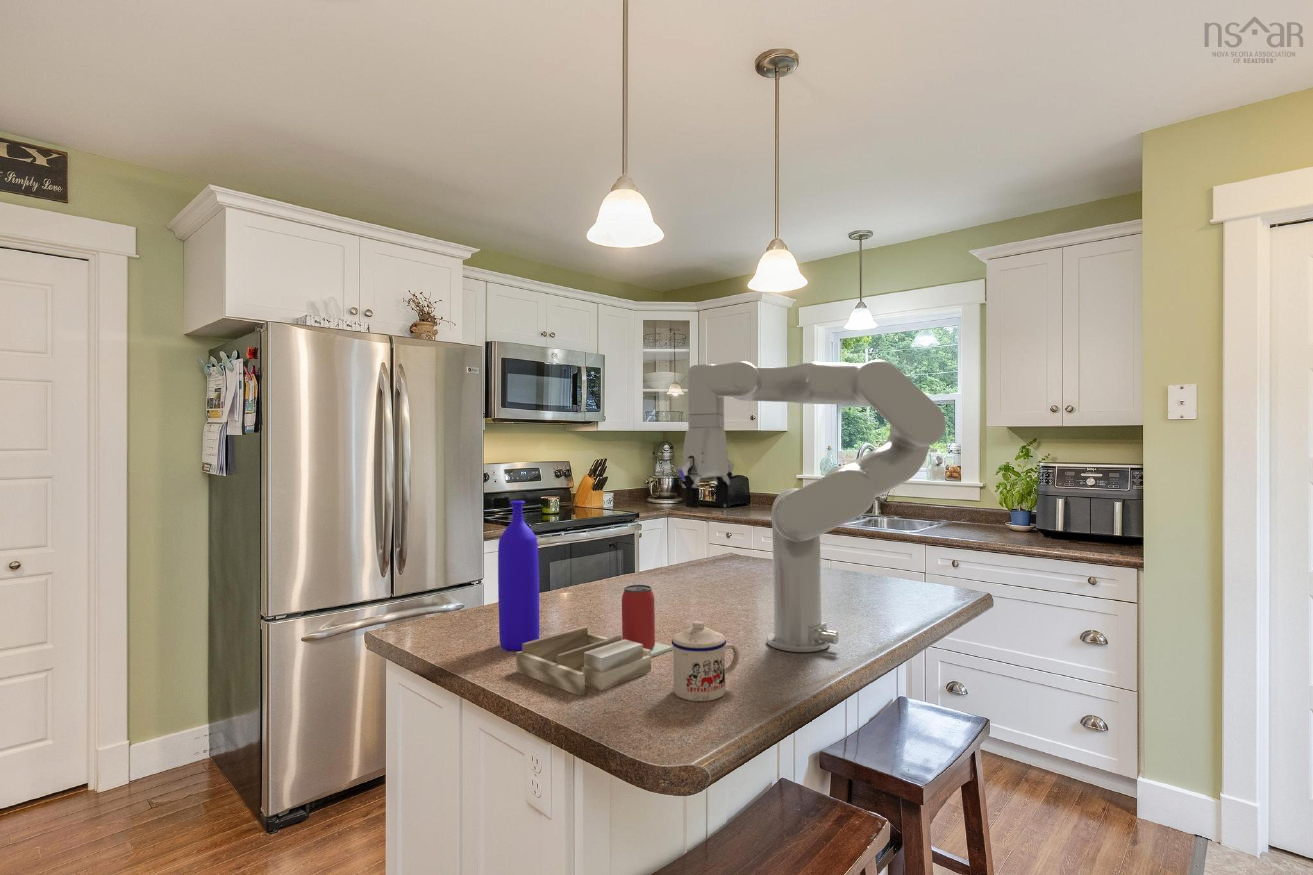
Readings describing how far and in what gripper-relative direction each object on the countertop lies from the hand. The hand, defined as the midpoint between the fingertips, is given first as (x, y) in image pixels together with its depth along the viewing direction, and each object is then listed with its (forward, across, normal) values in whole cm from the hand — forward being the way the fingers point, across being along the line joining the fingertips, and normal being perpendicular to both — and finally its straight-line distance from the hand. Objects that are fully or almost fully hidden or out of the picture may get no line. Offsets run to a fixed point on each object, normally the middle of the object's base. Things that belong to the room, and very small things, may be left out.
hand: (707, 505), depth 139 cm
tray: (+28, +29, -6) cm, 41 cm away
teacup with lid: (+28, +22, +17) cm, 40 cm away
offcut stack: (+29, +28, +1) cm, 40 cm away
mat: (+28, +14, -7) cm, 33 cm away
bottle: (+28, +28, -28) cm, 49 cm away
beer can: (+28, +14, -7) cm, 32 cm away
